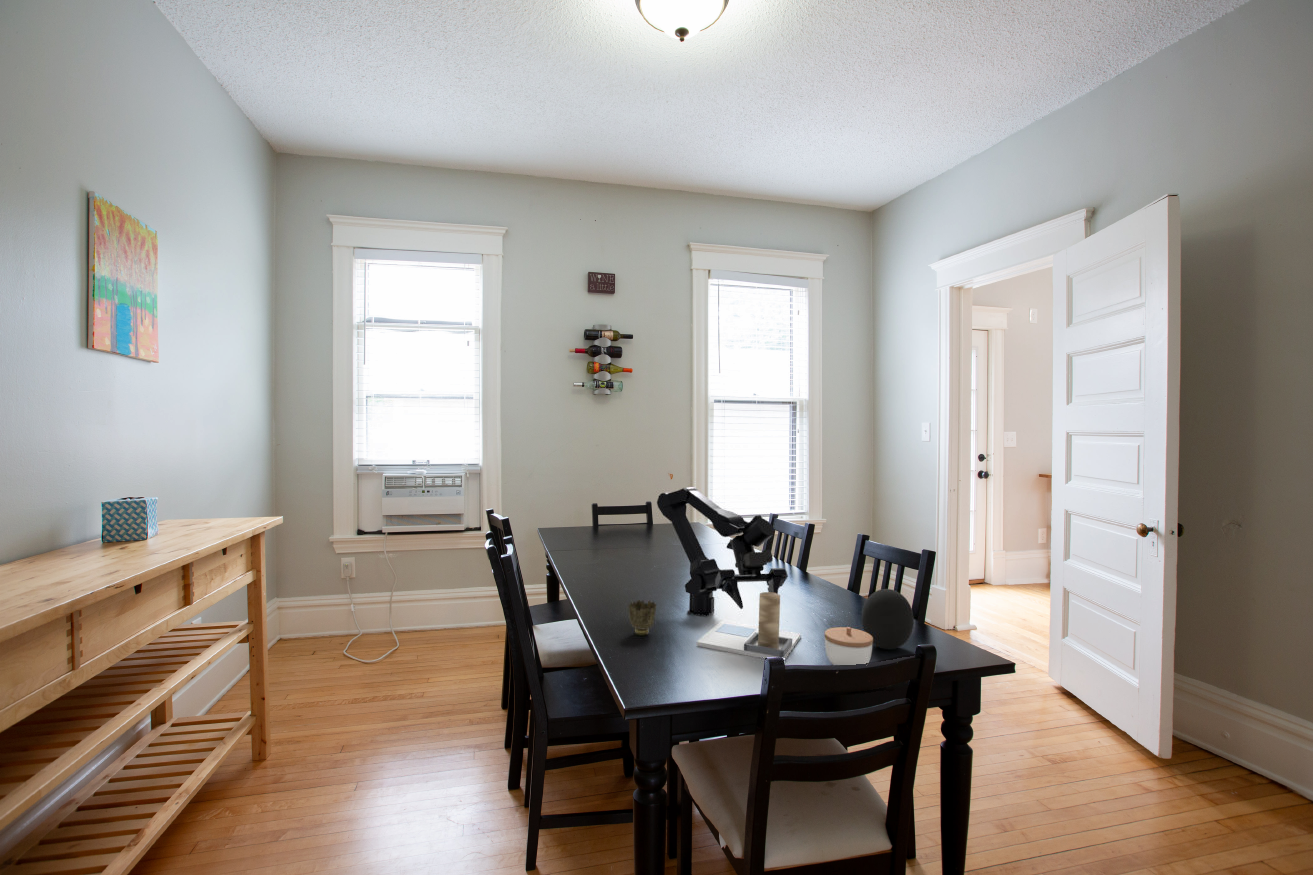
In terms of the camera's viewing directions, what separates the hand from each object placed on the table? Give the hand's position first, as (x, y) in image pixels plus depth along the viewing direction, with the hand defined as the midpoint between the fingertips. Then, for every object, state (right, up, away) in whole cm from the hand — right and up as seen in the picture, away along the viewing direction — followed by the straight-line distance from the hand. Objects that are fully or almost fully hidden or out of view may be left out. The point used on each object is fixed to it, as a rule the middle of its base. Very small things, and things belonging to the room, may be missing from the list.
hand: (758, 607), depth 155 cm
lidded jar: (+18, -10, -15) cm, 25 cm away
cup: (-30, -8, +5) cm, 32 cm away
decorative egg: (+32, -10, -2) cm, 34 cm away
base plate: (-2, -9, +1) cm, 9 cm away
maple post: (+1, -8, -6) cm, 10 cm away
